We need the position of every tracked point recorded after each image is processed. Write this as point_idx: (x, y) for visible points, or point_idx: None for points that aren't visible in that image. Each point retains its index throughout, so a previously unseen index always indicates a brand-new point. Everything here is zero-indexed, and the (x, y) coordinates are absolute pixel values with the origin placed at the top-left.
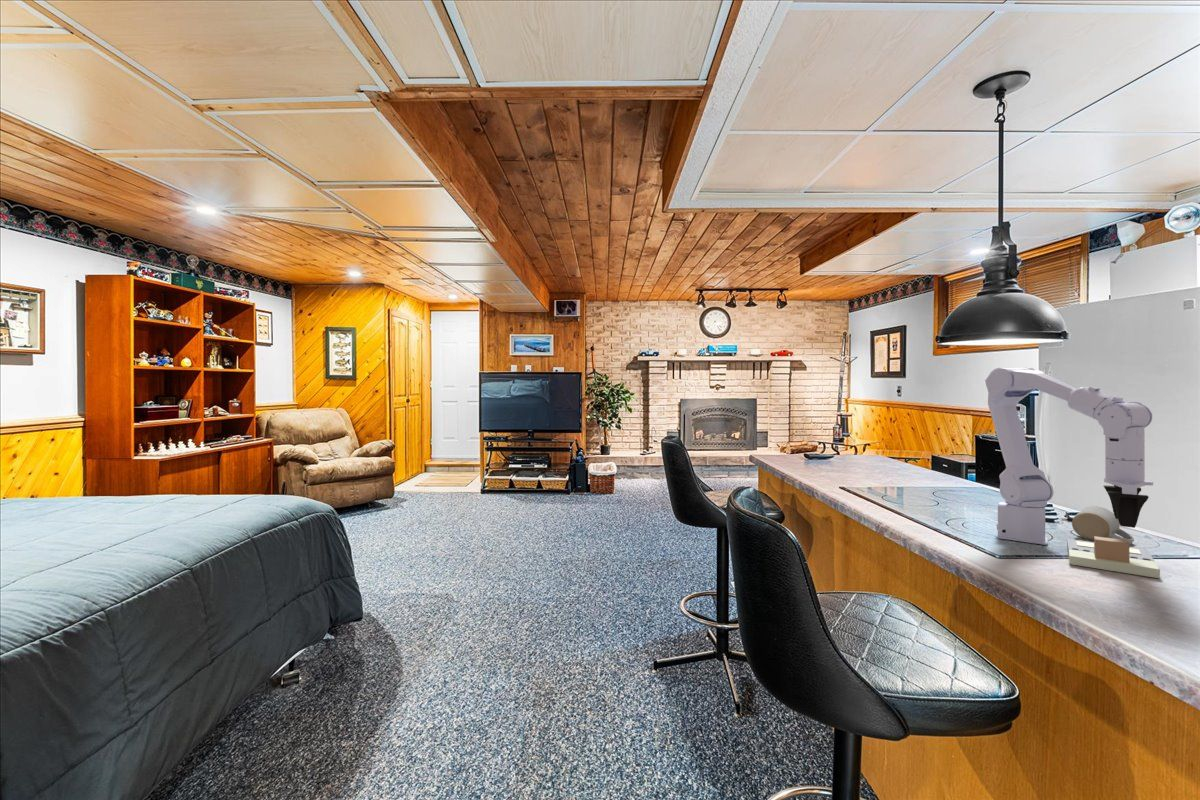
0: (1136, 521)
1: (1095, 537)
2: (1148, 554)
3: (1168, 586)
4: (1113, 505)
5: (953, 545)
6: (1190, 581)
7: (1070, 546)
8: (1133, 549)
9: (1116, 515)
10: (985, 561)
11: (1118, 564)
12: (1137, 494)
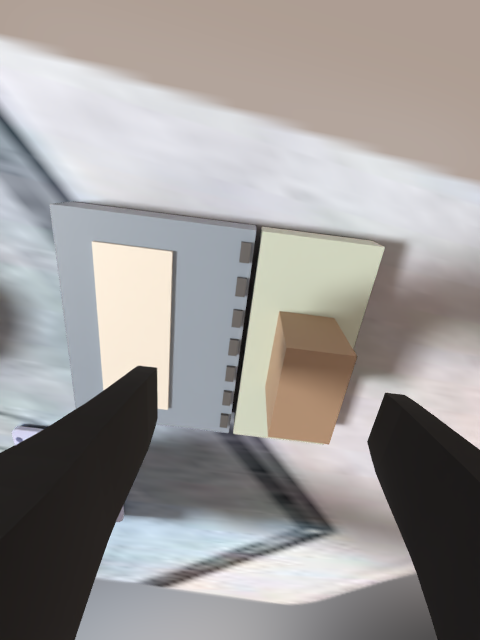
0: (436, 421)
1: (291, 437)
2: (146, 223)
3: (447, 237)
4: (120, 509)
5: (261, 580)
6: (349, 146)
7: (191, 424)
8: (107, 260)
9: (152, 434)
10: (375, 550)
11: (352, 346)
12: (6, 546)
